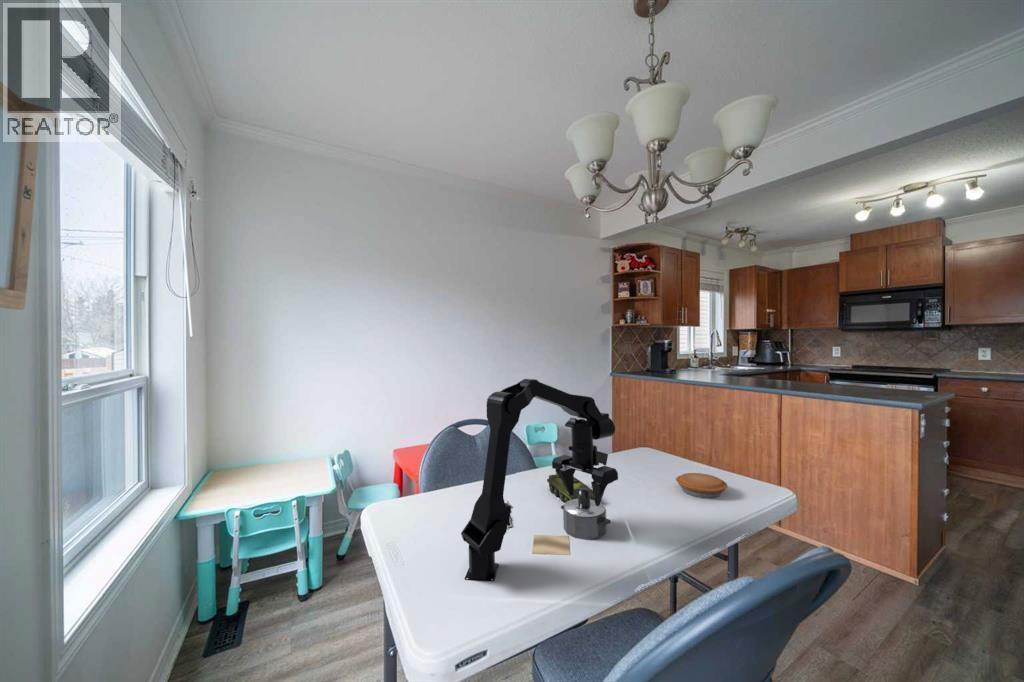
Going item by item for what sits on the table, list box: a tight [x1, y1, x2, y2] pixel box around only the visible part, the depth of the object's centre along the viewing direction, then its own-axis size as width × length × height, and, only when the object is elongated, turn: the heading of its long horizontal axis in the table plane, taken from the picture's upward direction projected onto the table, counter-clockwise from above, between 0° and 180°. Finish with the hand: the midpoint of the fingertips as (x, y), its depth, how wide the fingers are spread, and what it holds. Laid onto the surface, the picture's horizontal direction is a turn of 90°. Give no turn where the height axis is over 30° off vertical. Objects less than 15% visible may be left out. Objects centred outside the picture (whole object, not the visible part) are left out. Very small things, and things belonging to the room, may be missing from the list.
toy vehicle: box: [546, 471, 594, 504], centre depth 123 cm, size 9×20×10 cm, turn 19°
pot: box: [560, 504, 611, 541], centre depth 99 cm, size 14×11×6 cm
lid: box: [563, 487, 606, 518], centre depth 99 cm, size 11×11×6 cm
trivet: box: [531, 534, 571, 556], centre depth 91 cm, size 9×9×1 cm
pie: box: [675, 472, 728, 500], centre depth 124 cm, size 16×16×5 cm
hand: (584, 500), depth 99 cm, fingers open, 9 cm apart
